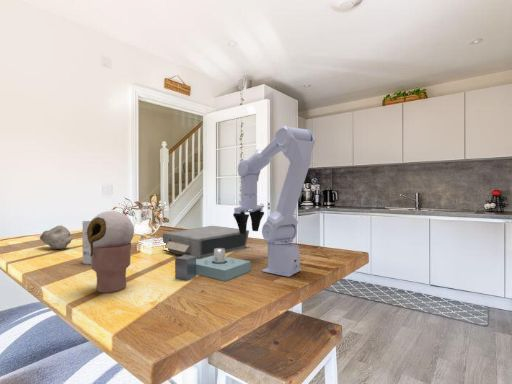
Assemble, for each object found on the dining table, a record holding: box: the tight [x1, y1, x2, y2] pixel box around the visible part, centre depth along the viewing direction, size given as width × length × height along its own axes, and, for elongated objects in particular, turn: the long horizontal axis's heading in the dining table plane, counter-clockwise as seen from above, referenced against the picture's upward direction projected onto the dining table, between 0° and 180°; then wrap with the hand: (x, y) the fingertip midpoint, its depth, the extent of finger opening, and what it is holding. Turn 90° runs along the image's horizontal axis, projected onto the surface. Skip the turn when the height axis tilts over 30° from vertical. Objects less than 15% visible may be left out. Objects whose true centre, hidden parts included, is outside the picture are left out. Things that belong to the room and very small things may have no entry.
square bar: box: [174, 255, 197, 282], centre depth 84 cm, size 4×4×6 cm
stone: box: [39, 224, 73, 250], centre depth 124 cm, size 9×14×10 cm, turn 59°
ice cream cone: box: [86, 210, 135, 294], centre depth 75 cm, size 11×11×20 cm
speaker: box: [162, 225, 250, 260], centre depth 122 cm, size 24×8×30 cm
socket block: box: [196, 255, 252, 282], centre depth 90 cm, size 15×12×3 cm
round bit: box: [214, 248, 226, 264], centre depth 90 cm, size 3×3×7 cm
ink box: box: [81, 220, 91, 265], centre depth 101 cm, size 8×5×15 cm, turn 72°
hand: (249, 232), depth 104 cm, fingers open, 7 cm apart
